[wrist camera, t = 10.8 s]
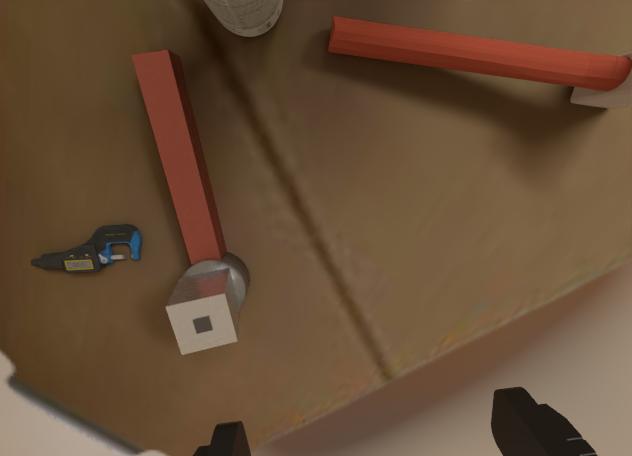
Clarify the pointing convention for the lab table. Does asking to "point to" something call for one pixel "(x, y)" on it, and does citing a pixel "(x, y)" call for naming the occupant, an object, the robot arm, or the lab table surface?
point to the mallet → (491, 59)
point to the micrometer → (94, 251)
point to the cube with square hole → (204, 311)
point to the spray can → (246, 15)
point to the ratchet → (186, 166)
